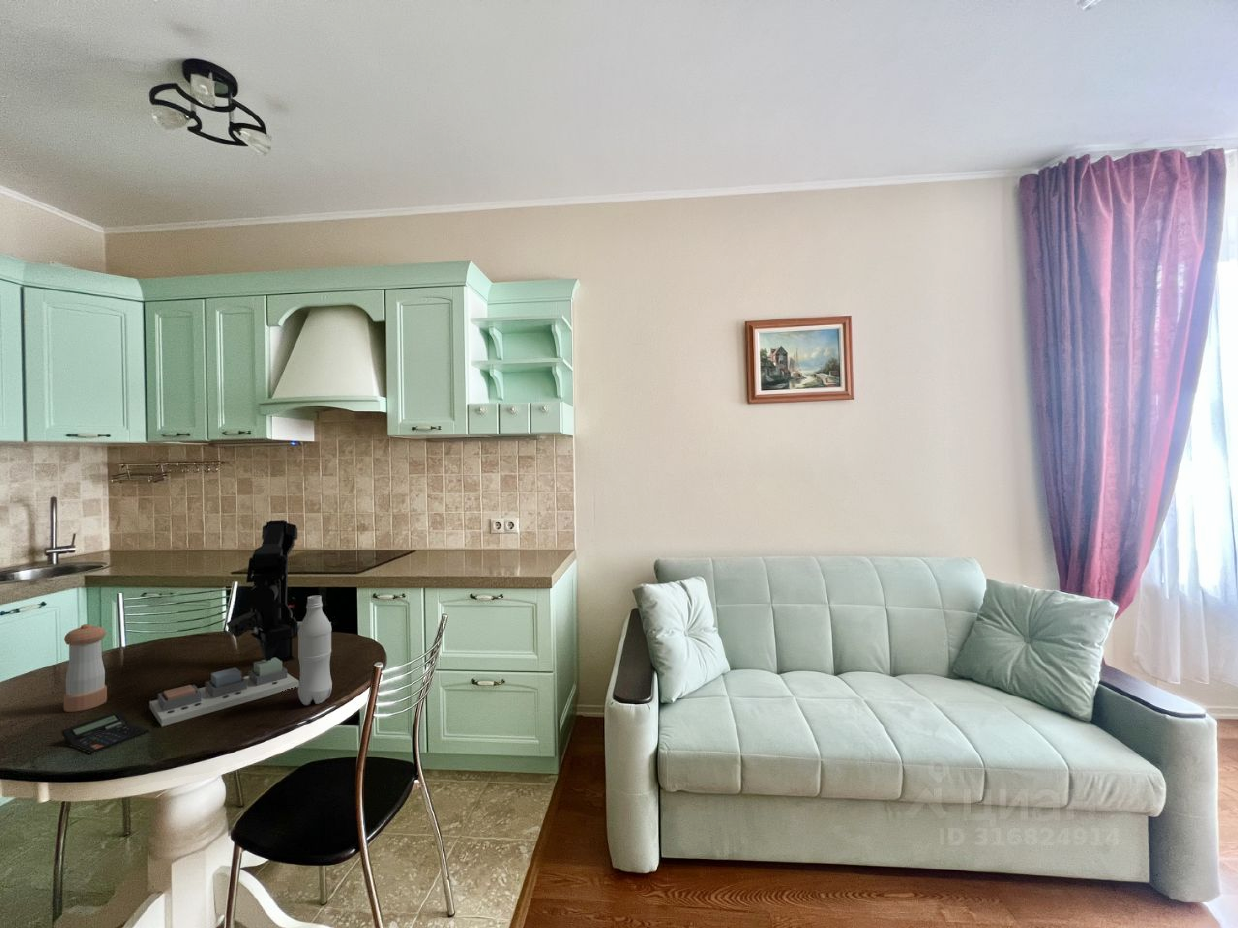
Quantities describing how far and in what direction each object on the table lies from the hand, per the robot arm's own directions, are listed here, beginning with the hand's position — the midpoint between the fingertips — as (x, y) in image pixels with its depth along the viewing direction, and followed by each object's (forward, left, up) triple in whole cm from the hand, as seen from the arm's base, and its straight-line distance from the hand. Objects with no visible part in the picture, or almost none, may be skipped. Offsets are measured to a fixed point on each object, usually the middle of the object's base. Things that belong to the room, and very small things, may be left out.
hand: (268, 660), depth 139 cm
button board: (+9, +1, -6) cm, 11 cm away
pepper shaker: (+32, -20, -6) cm, 38 cm away
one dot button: (0, 0, -3) cm, 3 cm away
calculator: (+31, +5, -7) cm, 32 cm away
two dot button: (+9, 0, -3) cm, 9 cm away
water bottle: (-4, +20, -6) cm, 21 cm away
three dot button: (+18, 0, -5) cm, 19 cm away
